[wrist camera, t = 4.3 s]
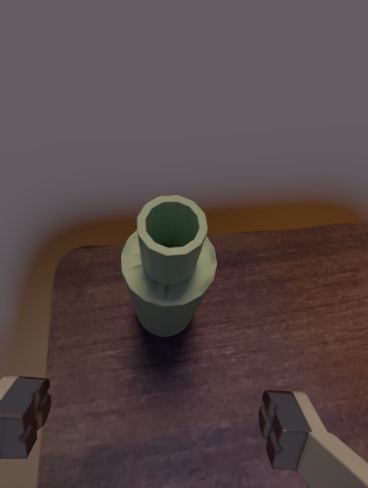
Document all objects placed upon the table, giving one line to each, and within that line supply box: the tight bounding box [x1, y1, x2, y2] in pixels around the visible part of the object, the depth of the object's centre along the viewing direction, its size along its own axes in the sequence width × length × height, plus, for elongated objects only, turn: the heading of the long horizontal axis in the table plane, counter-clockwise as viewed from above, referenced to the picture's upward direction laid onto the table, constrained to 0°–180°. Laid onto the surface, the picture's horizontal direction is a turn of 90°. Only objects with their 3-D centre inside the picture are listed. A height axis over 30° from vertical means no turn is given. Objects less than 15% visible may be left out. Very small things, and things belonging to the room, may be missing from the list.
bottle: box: [121, 195, 217, 337], centre depth 19 cm, size 6×6×16 cm
